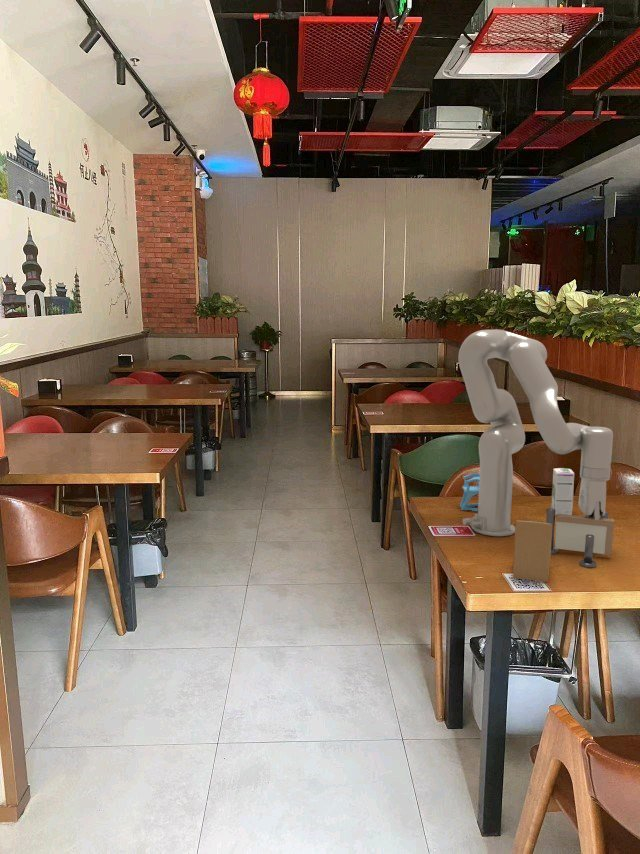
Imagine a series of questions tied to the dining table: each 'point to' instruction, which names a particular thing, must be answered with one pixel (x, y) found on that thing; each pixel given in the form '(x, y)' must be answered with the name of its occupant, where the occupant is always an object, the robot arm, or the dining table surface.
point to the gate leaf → (583, 533)
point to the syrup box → (562, 491)
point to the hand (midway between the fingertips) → (590, 537)
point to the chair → (470, 492)
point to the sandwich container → (532, 550)
